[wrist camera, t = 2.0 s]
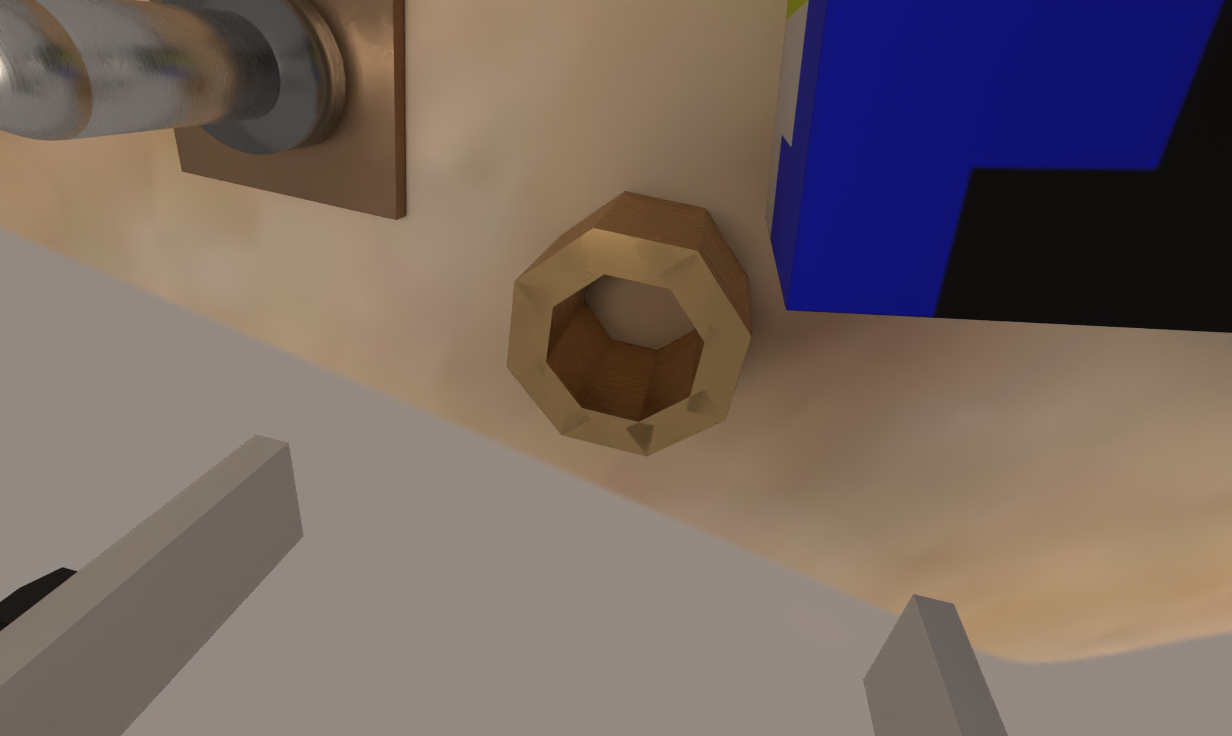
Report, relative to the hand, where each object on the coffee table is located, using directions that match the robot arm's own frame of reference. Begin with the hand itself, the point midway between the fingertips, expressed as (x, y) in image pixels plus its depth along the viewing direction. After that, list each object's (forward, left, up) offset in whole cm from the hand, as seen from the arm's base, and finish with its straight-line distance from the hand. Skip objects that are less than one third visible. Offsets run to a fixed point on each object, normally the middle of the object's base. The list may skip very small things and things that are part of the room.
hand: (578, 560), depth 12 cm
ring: (0, -1, -15) cm, 15 cm away
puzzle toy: (-10, +7, -15) cm, 20 cm away
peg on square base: (-6, -17, -15) cm, 23 cm away
